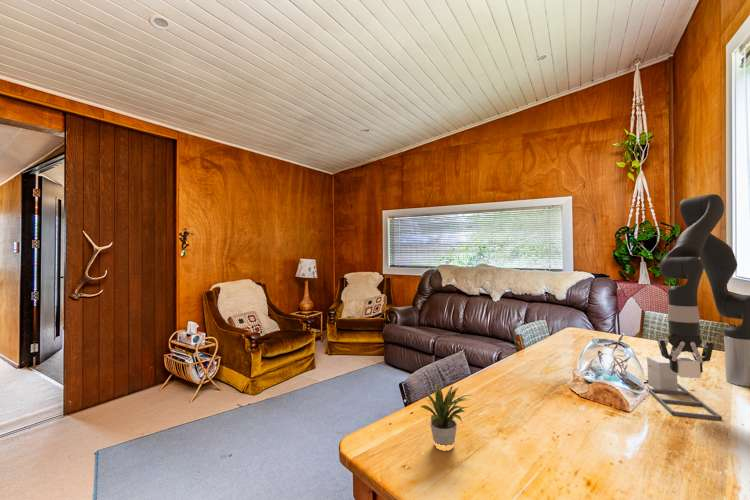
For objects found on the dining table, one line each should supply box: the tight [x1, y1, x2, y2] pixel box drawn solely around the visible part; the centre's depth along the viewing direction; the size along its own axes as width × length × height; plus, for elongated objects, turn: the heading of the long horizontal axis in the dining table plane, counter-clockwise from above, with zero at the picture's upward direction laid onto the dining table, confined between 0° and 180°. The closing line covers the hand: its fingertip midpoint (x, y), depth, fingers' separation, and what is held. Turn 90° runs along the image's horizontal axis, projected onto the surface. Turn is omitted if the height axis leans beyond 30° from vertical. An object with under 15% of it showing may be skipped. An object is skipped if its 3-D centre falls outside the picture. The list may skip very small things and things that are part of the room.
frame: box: [645, 379, 723, 421], centre depth 120 cm, size 30×12×1 cm, turn 159°
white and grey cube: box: [673, 356, 702, 379], centre depth 111 cm, size 5×5×5 cm
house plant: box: [419, 383, 471, 446], centre depth 93 cm, size 14×14×16 cm
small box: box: [646, 356, 679, 391], centre depth 129 cm, size 8×6×10 cm
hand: (686, 372), depth 111 cm, fingers closed on white and grey cube, 5 cm apart
